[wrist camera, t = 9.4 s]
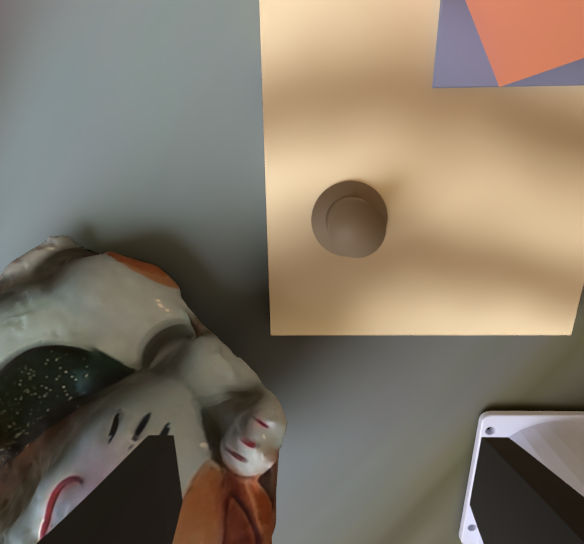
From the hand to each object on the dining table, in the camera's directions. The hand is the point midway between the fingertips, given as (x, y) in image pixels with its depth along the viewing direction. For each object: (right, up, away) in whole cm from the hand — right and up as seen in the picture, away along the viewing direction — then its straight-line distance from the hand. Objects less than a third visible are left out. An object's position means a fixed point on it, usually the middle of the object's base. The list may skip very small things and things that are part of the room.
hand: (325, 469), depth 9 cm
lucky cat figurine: (-9, 0, +11) cm, 14 cm away
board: (+5, +11, +7) cm, 14 cm away
